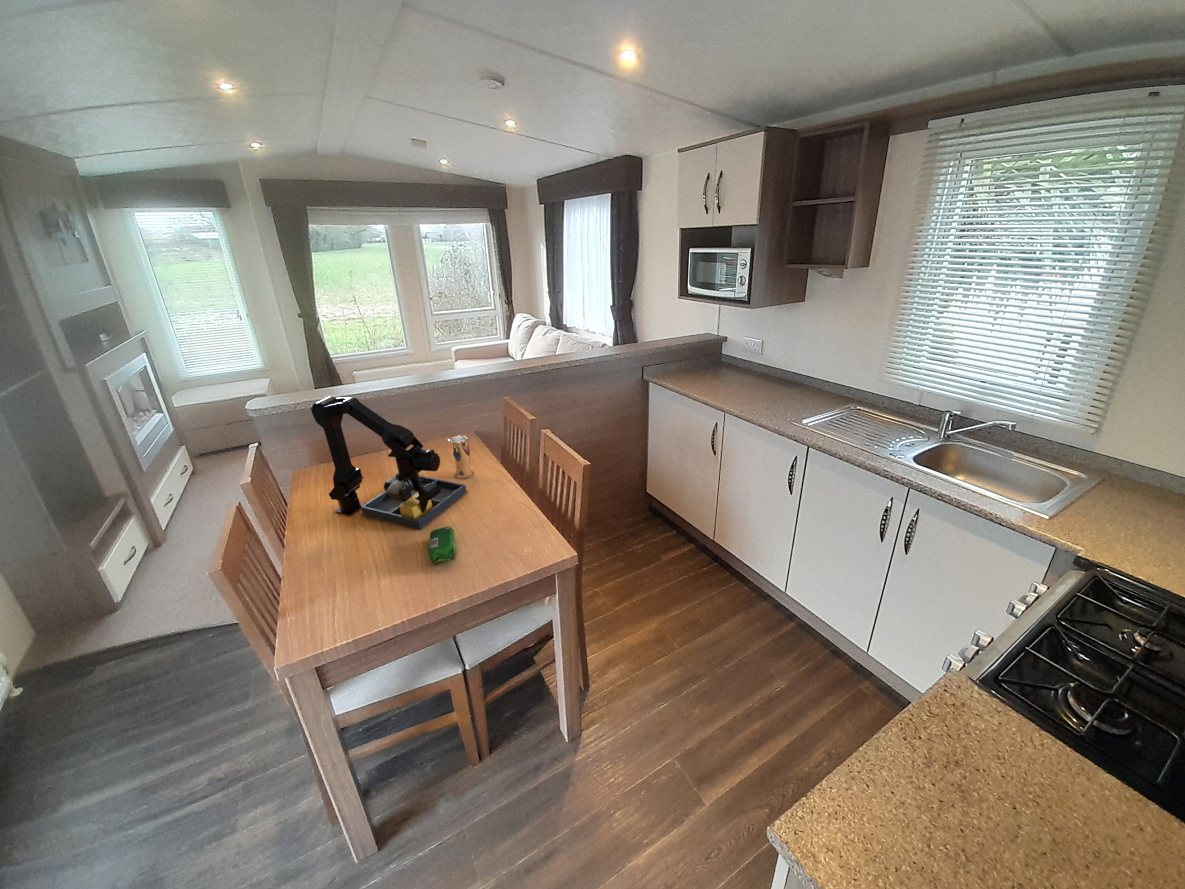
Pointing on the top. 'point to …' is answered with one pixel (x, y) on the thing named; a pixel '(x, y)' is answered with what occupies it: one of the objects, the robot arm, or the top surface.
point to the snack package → (442, 544)
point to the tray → (389, 507)
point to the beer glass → (461, 456)
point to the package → (413, 508)
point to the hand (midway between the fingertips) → (416, 510)
